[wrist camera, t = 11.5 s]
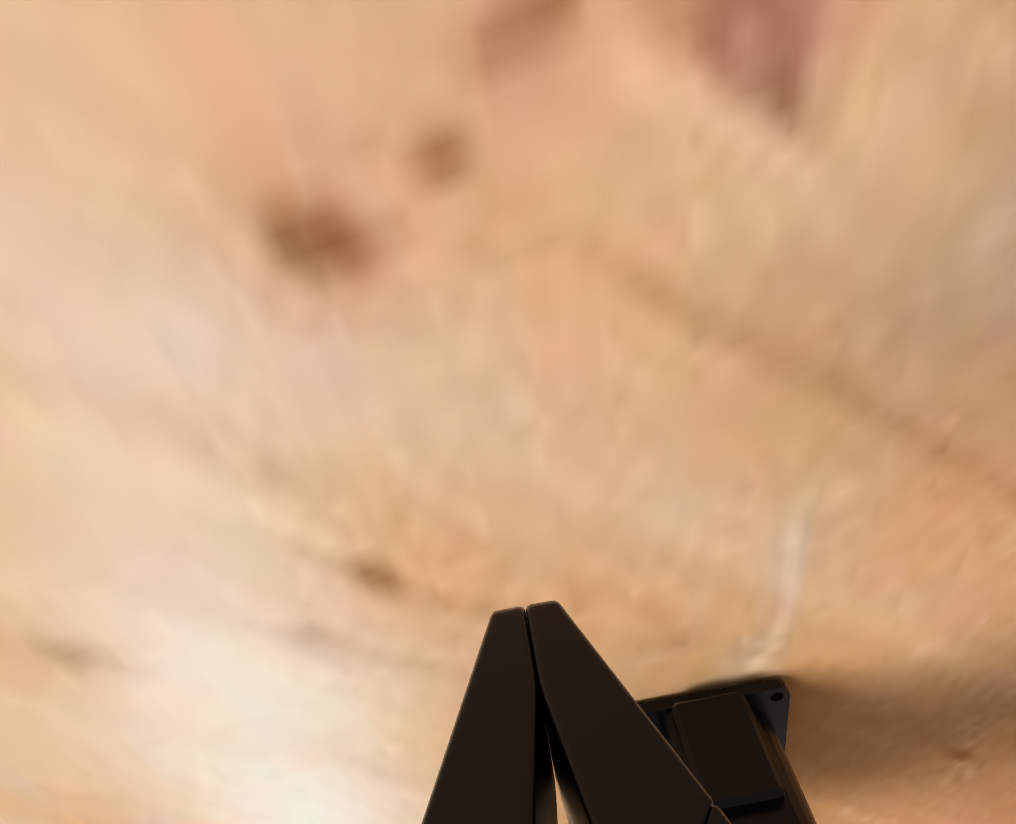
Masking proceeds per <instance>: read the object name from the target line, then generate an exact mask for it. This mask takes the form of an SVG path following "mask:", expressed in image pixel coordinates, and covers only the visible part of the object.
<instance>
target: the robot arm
mask: <svg viewBox="0 0 1016 824" xmlns="http://www.w3.org/2000/svg"><path fill="white" fill-rule="evenodd" d="M526 616H527V617H526ZM527 622H528V623H527ZM529 633H530V634H529ZM789 698H790V693H789V690H788V688H787V686H786V684H785V682H783V681H782V680H770V681H765V682H759V683H754V684H748V685H743V686H738V687H732V688H727V689H721V690H716V691H711V692H705V693H700V694H694V695H689V696H683V697H678V698H673V699H667V700H662V701H656V702H651V703H646V704H640V705H638V704H637V702H636V701H635V700H634V698H633V697H632V696H631V695H630V693H629V692H628V691H627V689H626V688H625V687H624V686H623V684H622V683H621V682H620V680H619V679H618V678H617V677H616V675H615V674H614V673H613V671H612V670H611V669H610V668H609V666H608V665H607V664H606V662H605V661H604V660H603V659H602V657H601V656H600V655H599V653H598V652H597V651H596V650H595V648H594V647H593V646H592V644H591V643H590V642H589V641H588V639H587V638H586V637H585V636H584V634H583V633H582V632H581V630H580V629H579V628H578V627H577V625H576V624H575V623H574V621H573V620H572V619H571V618H570V616H569V615H568V614H567V612H566V611H565V610H564V609H563V607H562V606H561V605H560V604H559V603H558V602H556V601H547V602H542V603H536V604H531V605H529V606H528V607H527V608H526V612H525V610H524V609H523V608H522V607H514V608H509V609H503V610H498V611H495V612H494V613H493V614H492V616H491V617H490V620H489V623H488V626H487V629H486V632H485V635H484V638H483V641H482V644H481V647H480V650H479V653H478V656H477V659H476V662H475V665H474V668H473V671H472V674H471V677H470V680H469V683H468V686H467V689H466V692H465V695H464V698H463V701H462V704H461V707H460V710H459V713H458V716H457V719H456V722H455V725H454V728H453V731H452V734H451V737H450V740H449V743H448V746H447V749H446V752H445V755H444V758H443V761H442V764H441V767H440V770H439V773H438V776H437V779H436V782H435V785H434V788H433V791H432V794H431V797H430V800H429V803H428V806H427V809H426V812H425V815H424V818H423V821H422V824H558V822H557V803H556V790H555V779H554V772H553V766H554V771H555V776H556V781H557V784H558V788H559V792H560V795H561V799H562V802H563V806H564V809H565V812H566V816H567V819H568V822H569V824H817V823H816V821H815V819H814V817H813V814H812V812H811V810H810V808H809V805H808V803H807V801H806V799H805V796H804V794H803V792H802V790H801V787H800V785H799V783H798V781H797V778H796V776H795V774H794V772H793V769H792V767H791V765H790V763H789V760H788V758H787V756H786V754H785V742H786V731H787V720H788V709H789ZM546 729H547V730H546ZM547 734H548V736H547ZM548 740H549V741H548ZM549 745H550V747H549ZM550 751H551V753H550ZM551 756H552V758H551ZM552 762H553V765H552Z"/></svg>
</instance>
